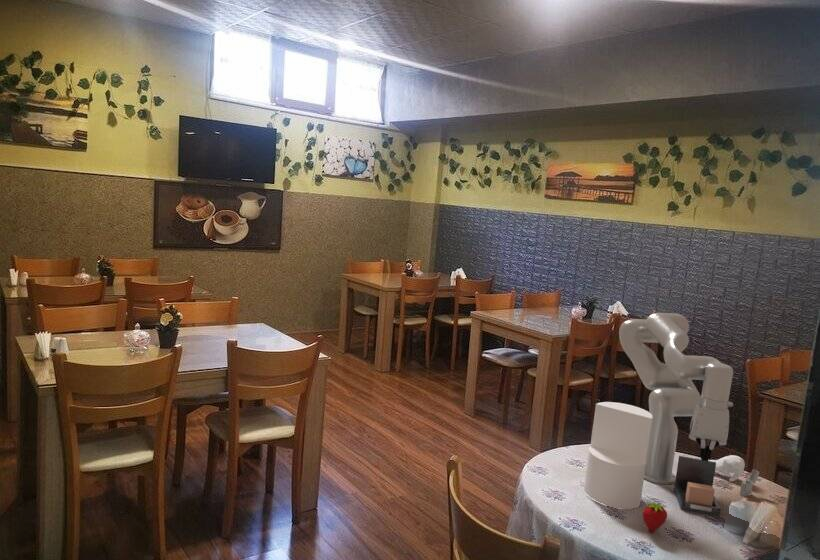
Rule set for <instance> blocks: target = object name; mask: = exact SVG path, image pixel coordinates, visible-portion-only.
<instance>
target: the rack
mask: <svg viewBox="0 0 820 560" xmlns="http://www.w3.org/2000/svg"><path fill="white" fill-rule="evenodd" d="M715 467H716V462H712V461H709V460H708V462H706V461H702V460H701V458H695V457H690V456H684V455H679V456H678V460H677V467H676V473H675V474H676V475H675V476H676V480H675V483H674V489H673V491H674V494H675V498H676V500H677V502H678V505H679V509H680V510H681V511H687V512H692V513H697V514H702V515H708V516H710V517H711V516H712V517H716V518H720V517H721V512H722V511H721V507H720V505H719V503H718V500H717V499H716V497H715V496H714V497H713V504H712V506H708V505H702V504H697V503H692V502H687V501H685V497H686V490H687V484H688V482H692V483H698V484H704V485H709V486H712V487H713V486H714V481H715V479H714V478H715V472H716V471H715Z"/></svg>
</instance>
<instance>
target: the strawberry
mask: <svg viewBox="0 0 820 560" xmlns="http://www.w3.org/2000/svg"><path fill="white" fill-rule="evenodd" d="M659 500H660V499H659ZM659 500H657V501H655V502H654V501H653V502H650V501H647V503H648V504H645V507H644V508H643V510H642V514H641V515H642V520H643V522H644V524H645V526H646V527H647V529H648V532H649V533H654V532H656V531H657V530H658V529H659V528H660V527H662V526H663V525H664V524H665V522H666V520H667V518H668V512H667V511H666V509H665V505H664V506H663V505H660V504H661V503H657V502H659Z"/></svg>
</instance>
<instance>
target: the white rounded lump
mask: <svg viewBox="0 0 820 560" xmlns="http://www.w3.org/2000/svg"><path fill="white" fill-rule="evenodd" d="M708 461H712V462H716V467H715V472H716V471H718V472H720V473H721V474H723V475H725V476H726V477H727V478H729V479H728V481H729V482H735V481H736V480H738V479H739V477H741V476H742V475H743V474H744V469H745V466H746V465H745V460H744V459H743V458H742V457H740V456H738V455H734V454H733V455H732V454H730V455H727V456H724V457H721V458H719V459H710V460H709V459H708ZM731 473H732V474H733V475H732V476H731Z"/></svg>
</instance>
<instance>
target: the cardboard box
mask: <svg viewBox="0 0 820 560" xmlns="http://www.w3.org/2000/svg"><path fill="white" fill-rule="evenodd" d="M713 497H715V489H714V487H713V486H709V485H704V484H698V483H692V482H688V484H687V490H686V497H685V501H687V502H692V503H697V504H702V505H708V506H712V504H713Z"/></svg>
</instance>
